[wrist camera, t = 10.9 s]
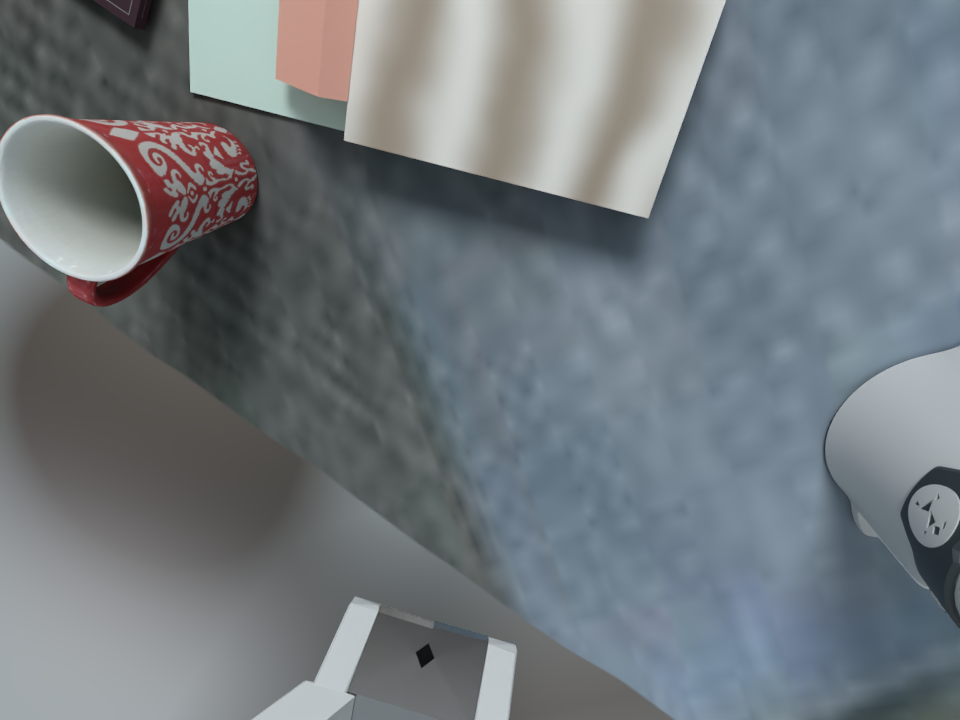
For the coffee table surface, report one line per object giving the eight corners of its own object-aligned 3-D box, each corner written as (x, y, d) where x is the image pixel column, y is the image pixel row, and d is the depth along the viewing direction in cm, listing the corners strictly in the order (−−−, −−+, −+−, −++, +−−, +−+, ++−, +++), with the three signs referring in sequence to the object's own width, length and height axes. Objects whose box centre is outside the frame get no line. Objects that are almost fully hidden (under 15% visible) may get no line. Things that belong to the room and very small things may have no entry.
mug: (175, 81, 40) (1, 77, 28) (286, 151, 41) (164, 176, 29) (136, 230, 46) (-23, 279, 34) (234, 288, 47) (113, 357, 35)
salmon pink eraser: (366, -75, 31) (333, -88, 29) (347, 101, 35) (317, 96, 34) (315, -76, 34) (283, -89, 33) (303, 83, 38) (275, 78, 37)
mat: (409, -108, 33) (408, -110, 33) (378, 139, 40) (377, 139, 39) (187, -159, 34) (184, -161, 34) (193, 91, 40) (190, 91, 40)
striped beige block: (726, -35, 32) (743, -50, 29) (642, 206, 39) (648, 218, 35) (393, -112, 33) (370, -136, 30) (365, 135, 40) (343, 140, 36)
